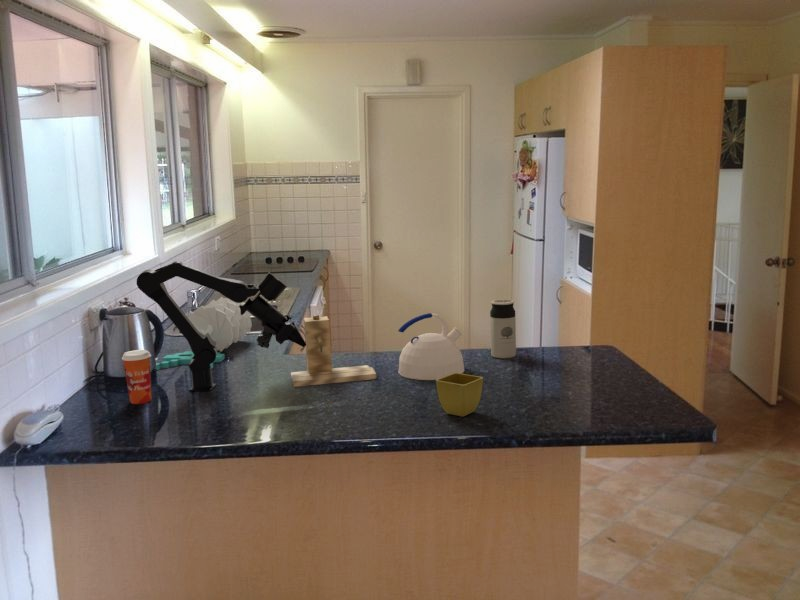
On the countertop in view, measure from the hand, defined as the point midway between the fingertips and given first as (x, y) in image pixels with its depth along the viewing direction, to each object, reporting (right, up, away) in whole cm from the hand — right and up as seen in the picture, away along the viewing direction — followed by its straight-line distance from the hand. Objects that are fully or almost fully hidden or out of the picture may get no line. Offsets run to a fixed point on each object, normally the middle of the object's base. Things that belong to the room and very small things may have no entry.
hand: (305, 345), depth 221 cm
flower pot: (+44, -15, -36) cm, 58 cm away
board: (+8, -10, 0) cm, 13 cm away
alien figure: (-42, -8, +28) cm, 51 cm away
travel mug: (+62, -5, +18) cm, 65 cm away
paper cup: (-44, -15, -14) cm, 49 cm away
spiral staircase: (-36, -4, +49) cm, 61 cm away
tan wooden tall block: (+5, -9, -2) cm, 11 cm away
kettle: (+38, -8, +4) cm, 39 cm away
